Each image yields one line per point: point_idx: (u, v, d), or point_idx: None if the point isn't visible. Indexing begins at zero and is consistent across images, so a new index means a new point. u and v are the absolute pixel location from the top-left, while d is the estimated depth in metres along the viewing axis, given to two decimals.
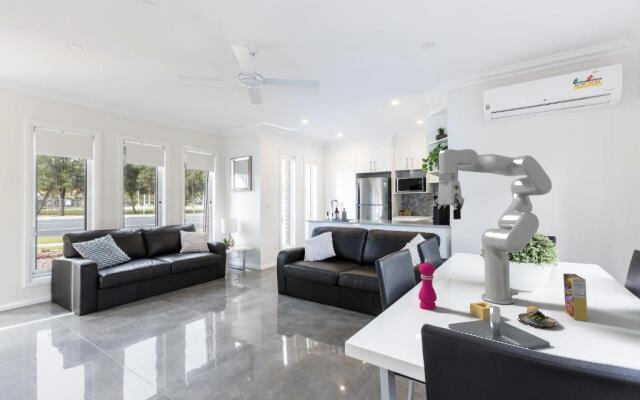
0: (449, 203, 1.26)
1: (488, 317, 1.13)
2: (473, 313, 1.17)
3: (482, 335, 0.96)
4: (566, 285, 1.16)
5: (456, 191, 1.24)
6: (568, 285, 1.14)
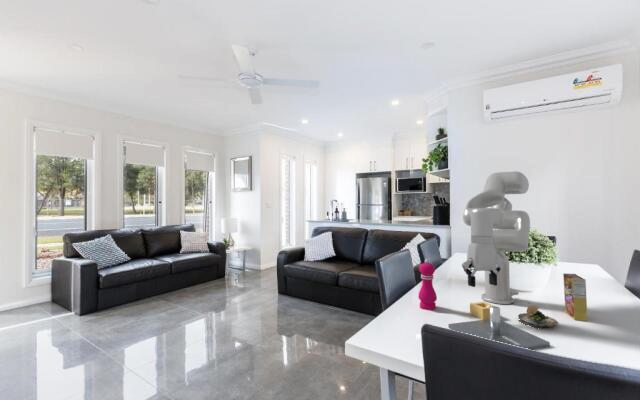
0: (492, 269, 1.15)
1: (488, 317, 1.13)
2: (473, 313, 1.17)
3: (482, 335, 0.96)
4: (566, 285, 1.16)
5: None
6: (568, 285, 1.14)
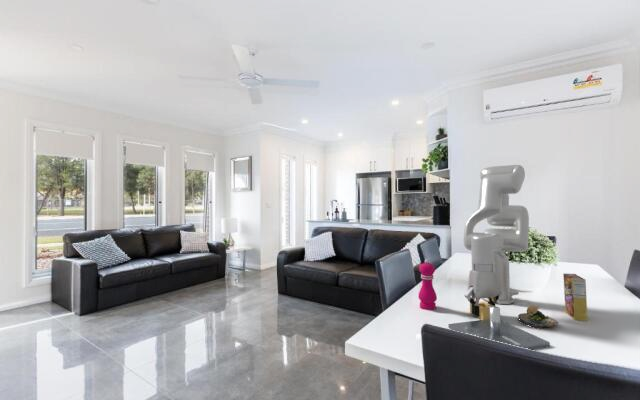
0: (493, 296, 1.15)
1: (488, 317, 1.13)
2: None
3: (482, 335, 0.96)
4: (566, 285, 1.16)
5: None
6: (568, 285, 1.14)
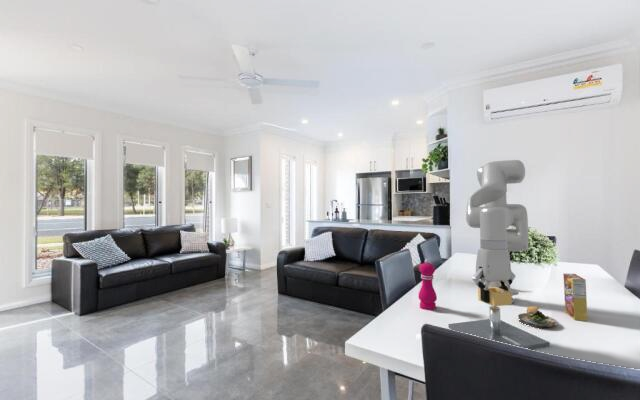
0: (506, 279, 0.97)
1: (500, 303, 0.95)
2: None
3: (482, 335, 0.96)
4: (566, 285, 1.16)
5: None
6: (568, 285, 1.14)
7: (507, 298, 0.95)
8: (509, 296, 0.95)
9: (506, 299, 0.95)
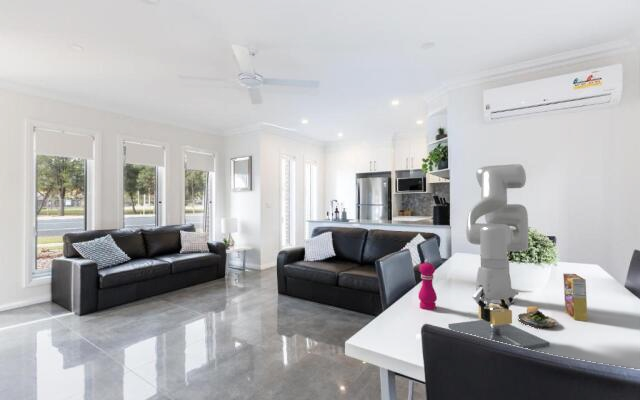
0: (506, 297, 0.97)
1: (501, 322, 0.95)
2: None
3: (482, 335, 0.96)
4: (566, 285, 1.16)
5: None
6: (568, 285, 1.14)
7: (507, 317, 0.95)
8: (510, 314, 0.95)
9: (506, 318, 0.95)
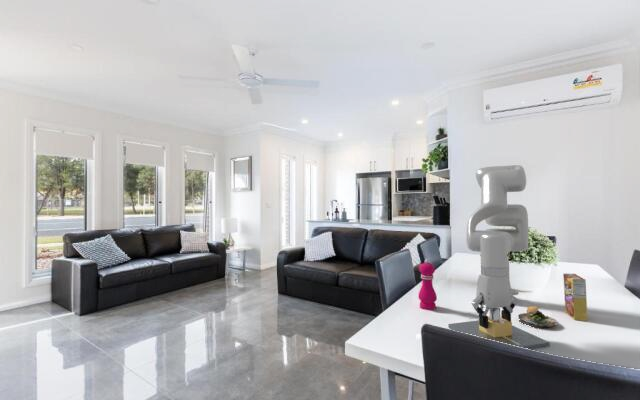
0: (506, 305, 0.97)
1: (501, 334, 0.95)
2: (483, 329, 0.99)
3: (482, 335, 0.96)
4: (566, 285, 1.16)
5: None
6: (568, 285, 1.14)
7: (508, 329, 0.95)
8: (510, 326, 0.96)
9: (507, 330, 0.95)
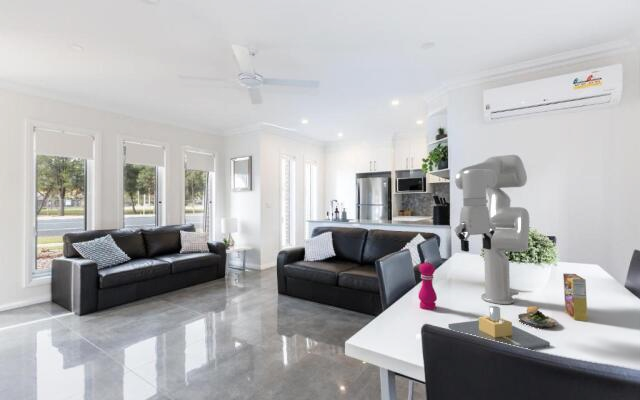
0: (486, 232, 1.09)
1: (501, 334, 0.95)
2: (483, 329, 0.99)
3: (482, 335, 0.96)
4: (566, 285, 1.16)
5: None
6: (568, 285, 1.14)
7: (508, 329, 0.95)
8: (510, 326, 0.96)
9: (507, 330, 0.95)
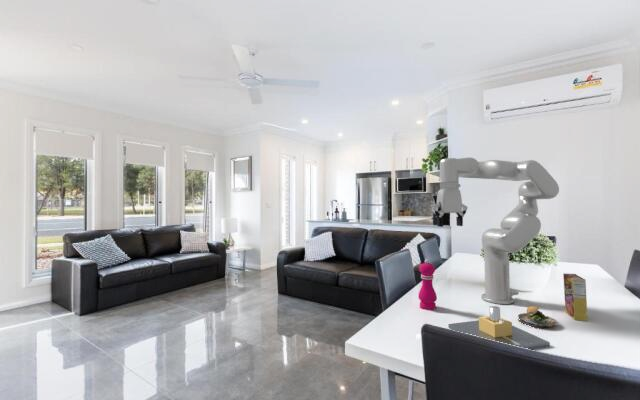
0: (458, 211, 1.30)
1: (501, 334, 0.95)
2: (483, 329, 0.99)
3: (482, 335, 0.96)
4: (566, 285, 1.16)
5: None
6: (568, 285, 1.14)
7: (508, 329, 0.95)
8: (510, 326, 0.96)
9: (507, 330, 0.95)
